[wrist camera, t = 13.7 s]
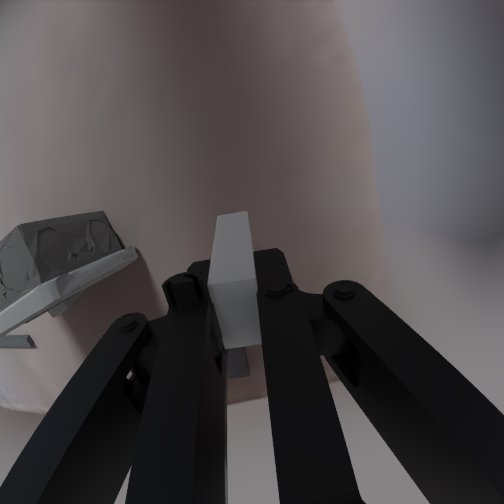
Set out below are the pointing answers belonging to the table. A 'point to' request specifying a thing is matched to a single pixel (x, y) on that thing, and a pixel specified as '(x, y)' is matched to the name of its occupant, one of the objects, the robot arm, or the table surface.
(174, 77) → the table surface
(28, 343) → the bay
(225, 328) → the robot arm
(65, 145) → the table surface
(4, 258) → the electrical switch
